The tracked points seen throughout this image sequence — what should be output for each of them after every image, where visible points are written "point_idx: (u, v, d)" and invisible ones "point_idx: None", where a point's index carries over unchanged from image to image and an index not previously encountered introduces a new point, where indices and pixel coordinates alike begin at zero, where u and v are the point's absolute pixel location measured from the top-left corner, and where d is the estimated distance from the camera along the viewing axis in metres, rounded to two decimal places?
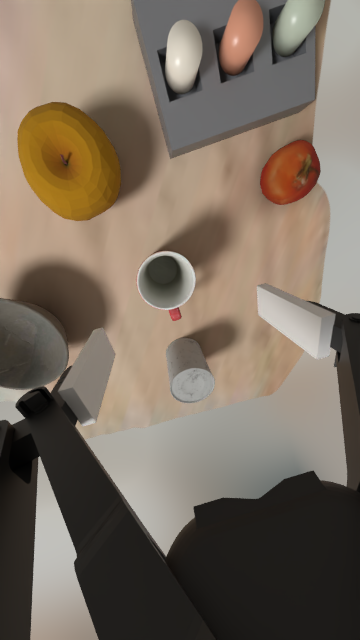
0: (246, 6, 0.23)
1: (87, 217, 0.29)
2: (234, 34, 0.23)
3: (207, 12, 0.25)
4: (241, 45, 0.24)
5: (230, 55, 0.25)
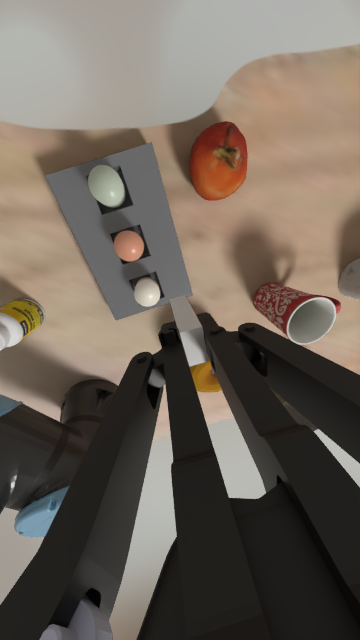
0: (119, 247, 0.29)
1: None
2: (135, 256, 0.30)
3: (114, 269, 0.33)
4: (140, 249, 0.29)
5: None
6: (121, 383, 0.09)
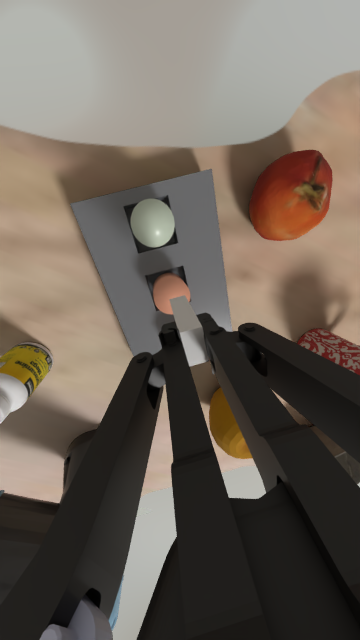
0: (160, 298, 0.22)
1: None
2: None
3: (146, 316, 0.27)
4: None
5: None
6: (121, 383, 0.09)
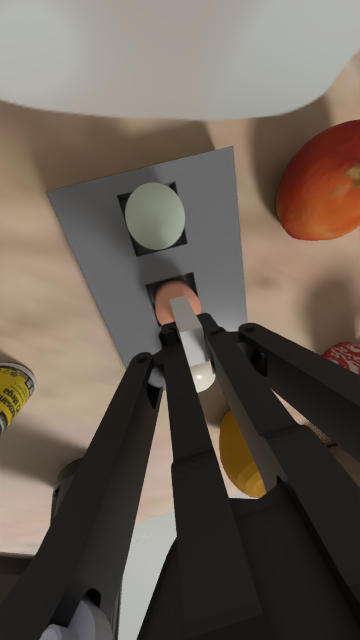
0: (163, 312, 0.18)
1: None
2: None
3: (146, 333, 0.22)
4: None
5: None
6: (121, 383, 0.09)
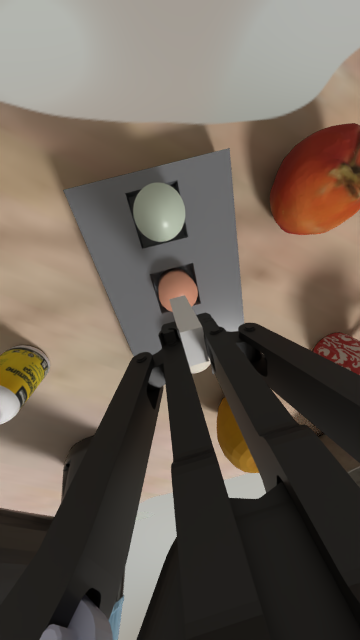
0: (165, 295, 0.21)
1: None
2: None
3: (150, 319, 0.24)
4: (192, 298, 0.22)
5: None
6: (121, 383, 0.09)
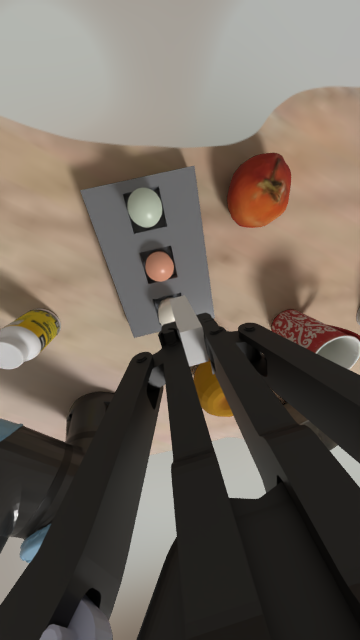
0: (150, 268, 0.29)
1: None
2: (164, 277, 0.30)
3: (139, 288, 0.32)
4: (170, 271, 0.30)
5: None
6: (121, 383, 0.09)
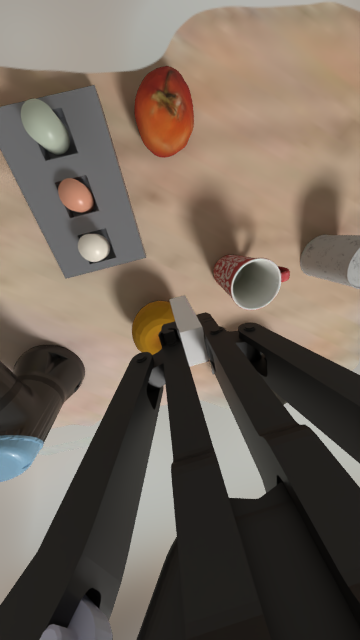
0: (63, 195, 0.30)
1: None
2: (80, 206, 0.31)
3: (61, 222, 0.33)
4: (85, 199, 0.30)
5: (89, 206, 0.32)
6: (121, 383, 0.09)
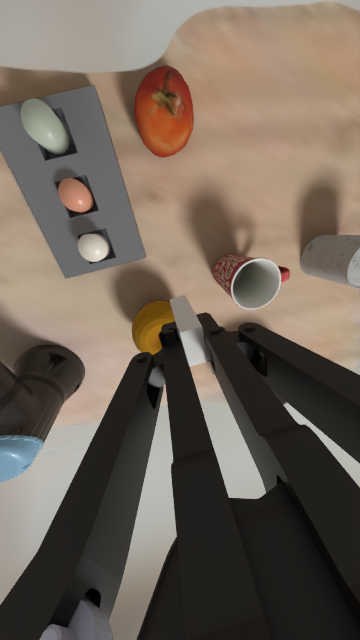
0: (63, 195, 0.30)
1: None
2: (80, 206, 0.31)
3: (61, 222, 0.33)
4: (84, 199, 0.30)
5: (88, 206, 0.32)
6: (121, 383, 0.09)
